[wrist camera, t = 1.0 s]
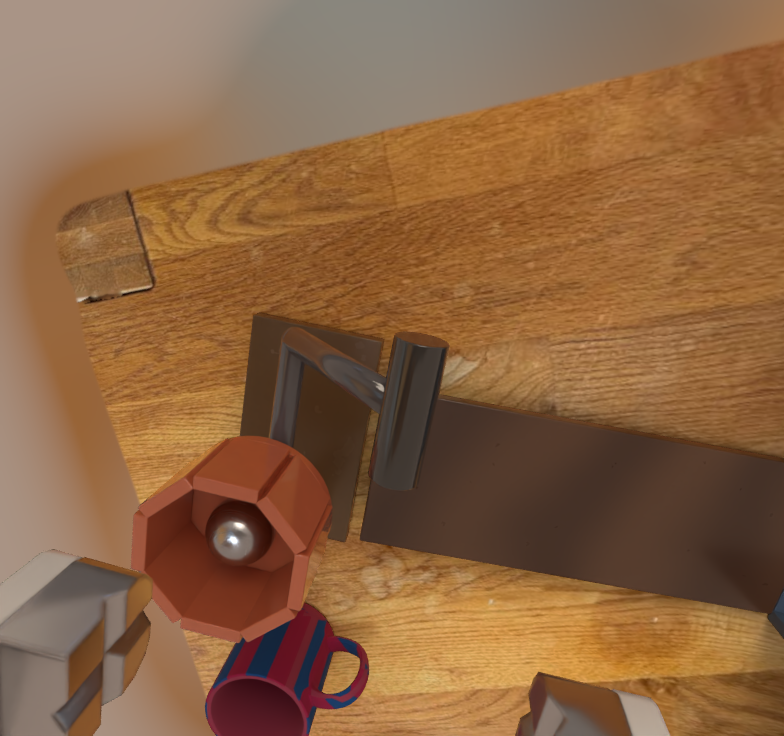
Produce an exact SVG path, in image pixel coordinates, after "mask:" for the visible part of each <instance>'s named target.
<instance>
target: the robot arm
mask: <svg viewBox="0 0 784 736" xmlns="http://www.w3.org/2000/svg"><path fill="white" fill-rule="evenodd" d="M152 594H153V579H152V578H151V577H150V576H148V575H147V574H144V573H140V572H137V571H133V570H129V569H125V568H122V567H118V566H115V565H111V564H108V563H104V562H100V561H97V560H93V559H90V558H86V557H84V558H82V557H79V556H75V555H72V554H69V553H65V552H62V551H58V550H55V549H52V550H49V551H45V552H42V553H40V554H39V555H37V556H36V557H35V558H33V559H32V560H31V561H29V562H28V563H27V564H26V565H24V566H23V567H22V568H20V569H19V570H18V571H16V572H15V573H14V574H13V575H11V576H10V577H9V578H7V579H6V580H5V581H4V582H2V583H1V584H0V736H93V734H94V733H95V732H96V730H97V729H98V728H99V726H100V725H101V706H103V705H104V704H106V703H108V702H110V701H112V700H114V699H115V698H117V697H119V696H121V695H122V694H123V693H124V691H125V690H126V688H127V687H128V686H129V684H130V683H131V681H132V680H133V678H134V677H135V675H136V673H137V671H138V669H139V667H140V664H141V662H142V660H143V658H144V656H145V654H146V650H147V646H148V642H149V638H150V627H151V623H150V621H149V620H148V618H147V616H146V615H145V613H144V611H143V609H144V608H145V607H146V606H147V604H148V603H149V602H150V600H151V599H152ZM528 694H529V701H530V708H531V712H529V713H527V714H526V715H524V716H523V717H521V718H520V721H519V724H518V728H517V731H516V734H515V736H670V734H669V731H668V729H667V727H666V724H665V722H664V720H663V717H662V715H661V712H660V710H659V708H658V705H657V704H656V703H655V702H654V701H653V700H652V699H651V698H649V697H644V696H640V695H636V694H631V693H627V692H623V691H618V690H614V689H613V690H610V689H608V688H604V687H600V686H595V685H591V684H587V683H583V682H579V681H575V680H571V679H566V678H562V677H558V676H554V675H550V674H546V673H541V672H538V673H537V675H536V676H535V677H534V679H533V681H532V684H531V687H530V690H529V693H528Z"/></svg>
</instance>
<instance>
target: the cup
mask: <svg viewBox="0 0 784 736" xmlns="http://www.w3.org/2000/svg"><path fill="white" fill-rule="evenodd" d="M336 651H344V652H349V653H351V654H354V655H355V656H357V657H359V658H360V668H359V671H358V674H357V676H356V678H355V680H354V681H353V683H352V684H351V685H350V686H349V687H348V688H347V689H345V690H344V691H342V692H340V693H335V694H325V693H323V692H322V689H323V685H324V682H325V679H326V675H327V672H328V669H329V665H330V662H331V659H332V655H333V652H336ZM368 675H369V663H368V658H367V654H366V652H365V650H364V649H363V648H362V646H361V645H360V644H358V643H357V642H356V641H353V640H351V639H348V638H344V637H338V636H334V634H333V631H332V628H331V626H330V624H329V623H328V621H327V620H326V618H325V617H324V616H323V615H322V614H321V613H320V612H319V611H317V610H316V609H315V608H313V607H312V606H310V605H308V604H306V603H304V604H303V606H302V609H301V610H300V611H298V613H297V615H296V617H295V618H294V619H292V620H290V621H288V622H286V623H284V624H282V625H280V626H278V627H276V628H275V629H273V630H271V631H269V632H267V633H265V634H263V635H261V636H259V637H257V638H255V639H253V640H251V641H249V642H247V641H246V640H245V639H244V638H243V637H242V639H241V641H240V643H235V645H234V647H233V649H232V651H231V652H230V654H229V656H228V658H227V660H226V662H225V664H224V665H223V667H222V669H221V671H220V673H219V675H218V677H217V678H216V680H215V682H214V684H213V686H212V688H211V689H210V691H209V693H208V696H207V699H206V704H205V712H206V717H207V720H208V723H209V725H210V727H211V729H212V731H213V732H214V733H215V735H216V736H308V735H309V732H310V729H311V725H312V722H313V719H314V715H315V712H316V709H317V708H322V709H338V708H343V707H345V706H348V705H350V704H351V703H353V702H354V701H355V700H356V699H357V698H358V697H359V696H360V695H361V693H362V692H363V690H364V688H365V686H366V683H367V681H368Z"/></svg>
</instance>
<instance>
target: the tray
mask: <svg viewBox="0 0 784 736" xmlns="http://www.w3.org/2000/svg"><path fill="white" fill-rule="evenodd" d="M768 619H769V621H770V622H771V623H772V624H773V626H774V627H775V628H776V630H777V631H778V632H779V633H780V635H781V636H782V637H783V639H784V588H783V590H782V592H781V595H780V597H779V599H778V601H777V603H776V605H775V607H774V609H773V611H772V613H771V614H769V615H768Z"/></svg>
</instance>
